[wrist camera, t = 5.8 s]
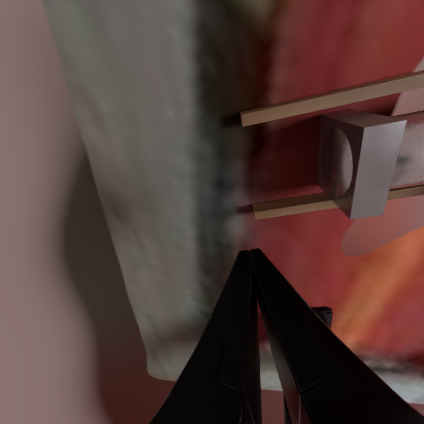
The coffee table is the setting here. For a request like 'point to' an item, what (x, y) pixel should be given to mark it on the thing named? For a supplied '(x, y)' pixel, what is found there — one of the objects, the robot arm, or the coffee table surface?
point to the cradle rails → (320, 103)
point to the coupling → (369, 158)
